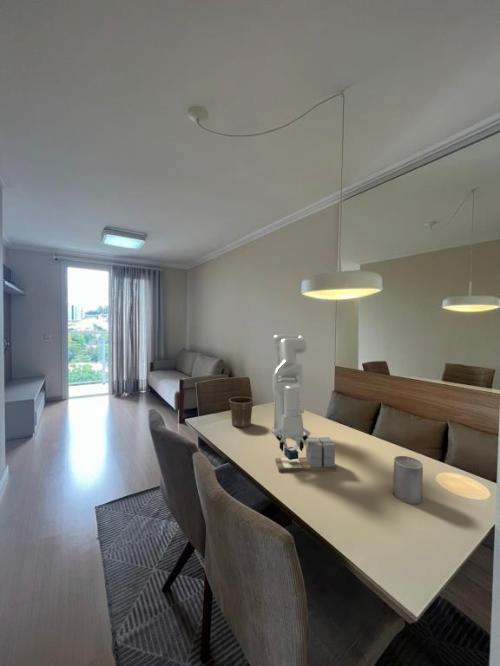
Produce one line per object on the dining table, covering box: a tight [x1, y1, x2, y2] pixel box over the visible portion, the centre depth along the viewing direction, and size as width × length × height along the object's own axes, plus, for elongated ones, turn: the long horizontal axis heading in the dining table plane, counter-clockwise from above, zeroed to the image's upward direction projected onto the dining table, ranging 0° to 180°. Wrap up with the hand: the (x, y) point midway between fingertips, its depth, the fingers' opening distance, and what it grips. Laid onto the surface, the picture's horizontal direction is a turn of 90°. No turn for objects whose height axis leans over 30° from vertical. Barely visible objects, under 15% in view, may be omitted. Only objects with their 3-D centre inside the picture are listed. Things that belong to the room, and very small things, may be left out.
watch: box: [283, 438, 301, 460], centre depth 130 cm, size 6×8×11 cm
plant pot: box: [228, 396, 255, 428], centre depth 184 cm, size 16×16×16 cm
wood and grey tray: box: [274, 437, 337, 473], centre depth 131 cm, size 10×26×12 cm, turn 94°
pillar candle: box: [392, 455, 424, 505], centre depth 109 cm, size 10×10×15 cm
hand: (291, 449), depth 130 cm, fingers closed on watch, 8 cm apart
